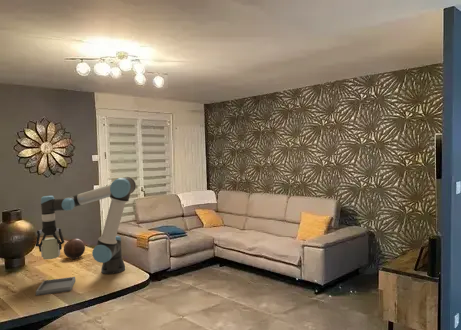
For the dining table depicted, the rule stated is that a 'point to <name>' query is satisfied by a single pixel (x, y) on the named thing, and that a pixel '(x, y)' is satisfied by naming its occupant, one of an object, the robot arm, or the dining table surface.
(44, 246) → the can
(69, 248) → the wooden sphere
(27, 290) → the dining table surface
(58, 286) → the tray
